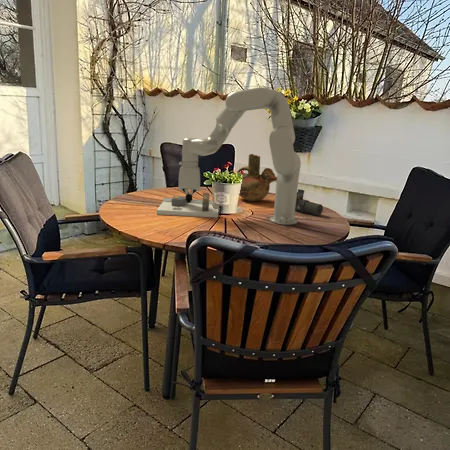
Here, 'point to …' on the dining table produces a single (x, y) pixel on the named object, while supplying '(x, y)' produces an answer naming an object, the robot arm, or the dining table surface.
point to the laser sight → (307, 205)
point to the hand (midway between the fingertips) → (188, 202)
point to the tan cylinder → (205, 202)
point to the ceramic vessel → (256, 180)
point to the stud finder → (179, 200)
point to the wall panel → (187, 209)
